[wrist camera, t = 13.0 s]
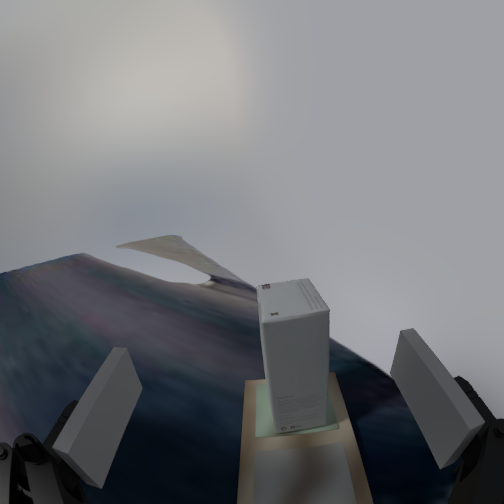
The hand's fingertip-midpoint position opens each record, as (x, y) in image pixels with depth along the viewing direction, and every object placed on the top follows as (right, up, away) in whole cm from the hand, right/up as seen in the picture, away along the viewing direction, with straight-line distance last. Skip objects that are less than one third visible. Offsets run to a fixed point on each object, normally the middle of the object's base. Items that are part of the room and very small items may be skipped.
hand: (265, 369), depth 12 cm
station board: (+4, -15, +12) cm, 20 cm away
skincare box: (+4, -13, +17) cm, 22 cm away
